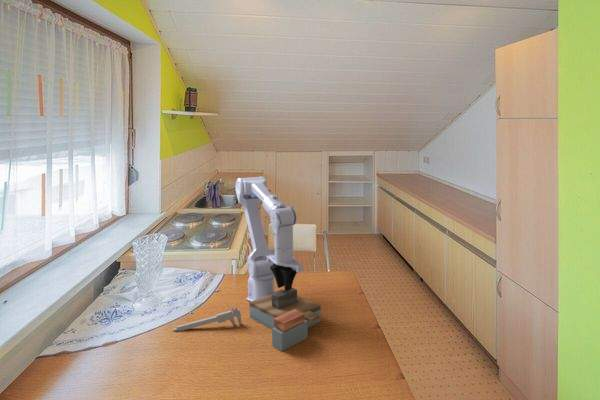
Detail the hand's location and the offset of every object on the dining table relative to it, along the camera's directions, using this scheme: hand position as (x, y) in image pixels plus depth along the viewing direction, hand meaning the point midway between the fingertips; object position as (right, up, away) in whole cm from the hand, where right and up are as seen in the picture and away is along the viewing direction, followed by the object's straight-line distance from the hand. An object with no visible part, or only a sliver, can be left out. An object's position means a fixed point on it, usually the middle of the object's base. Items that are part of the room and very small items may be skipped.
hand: (284, 288), depth 124 cm
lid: (+1, -7, 0) cm, 7 cm away
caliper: (-23, -12, -3) cm, 26 cm away
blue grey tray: (-1, -11, -2) cm, 11 cm away
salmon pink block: (+2, -7, -12) cm, 15 cm away
